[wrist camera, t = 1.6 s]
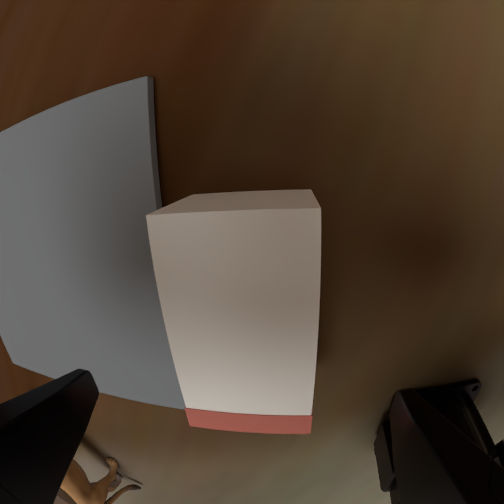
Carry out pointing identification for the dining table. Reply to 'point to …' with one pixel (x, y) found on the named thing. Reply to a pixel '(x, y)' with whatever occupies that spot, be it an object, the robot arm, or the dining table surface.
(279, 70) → the dining table surface
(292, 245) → the beige rectangular block
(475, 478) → the robot arm
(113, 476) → the lion figurine
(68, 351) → the mat
